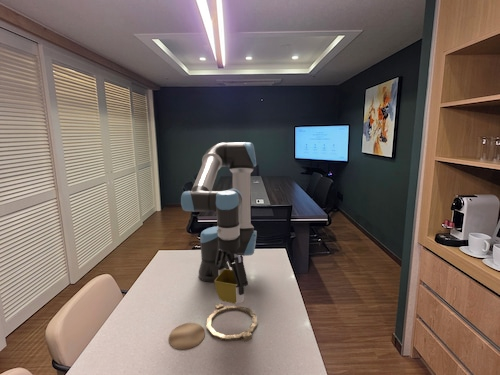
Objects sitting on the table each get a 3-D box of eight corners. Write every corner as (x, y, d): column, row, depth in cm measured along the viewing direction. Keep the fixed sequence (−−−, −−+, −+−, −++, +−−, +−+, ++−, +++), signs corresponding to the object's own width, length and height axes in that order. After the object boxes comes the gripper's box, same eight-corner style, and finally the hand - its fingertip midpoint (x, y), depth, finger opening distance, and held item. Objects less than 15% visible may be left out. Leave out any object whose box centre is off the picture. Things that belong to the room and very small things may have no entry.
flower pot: (238, 308, 96) (237, 284, 94) (215, 304, 99) (213, 280, 97) (246, 294, 104) (246, 272, 102) (225, 290, 107) (224, 268, 105)
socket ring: (197, 316, 106) (197, 313, 106) (238, 300, 116) (237, 297, 116) (224, 352, 89) (224, 347, 89) (269, 329, 99) (269, 325, 99)
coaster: (164, 333, 98) (164, 331, 98) (196, 320, 105) (196, 318, 105) (176, 355, 88) (175, 353, 88) (210, 339, 95) (210, 337, 95)
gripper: (203, 228, 104) (207, 281, 109) (237, 251, 84) (239, 315, 89) (221, 224, 108) (224, 275, 113) (258, 245, 88) (259, 306, 93)
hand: (231, 293), depth 101 cm, fingers closed on flower pot, 12 cm apart
